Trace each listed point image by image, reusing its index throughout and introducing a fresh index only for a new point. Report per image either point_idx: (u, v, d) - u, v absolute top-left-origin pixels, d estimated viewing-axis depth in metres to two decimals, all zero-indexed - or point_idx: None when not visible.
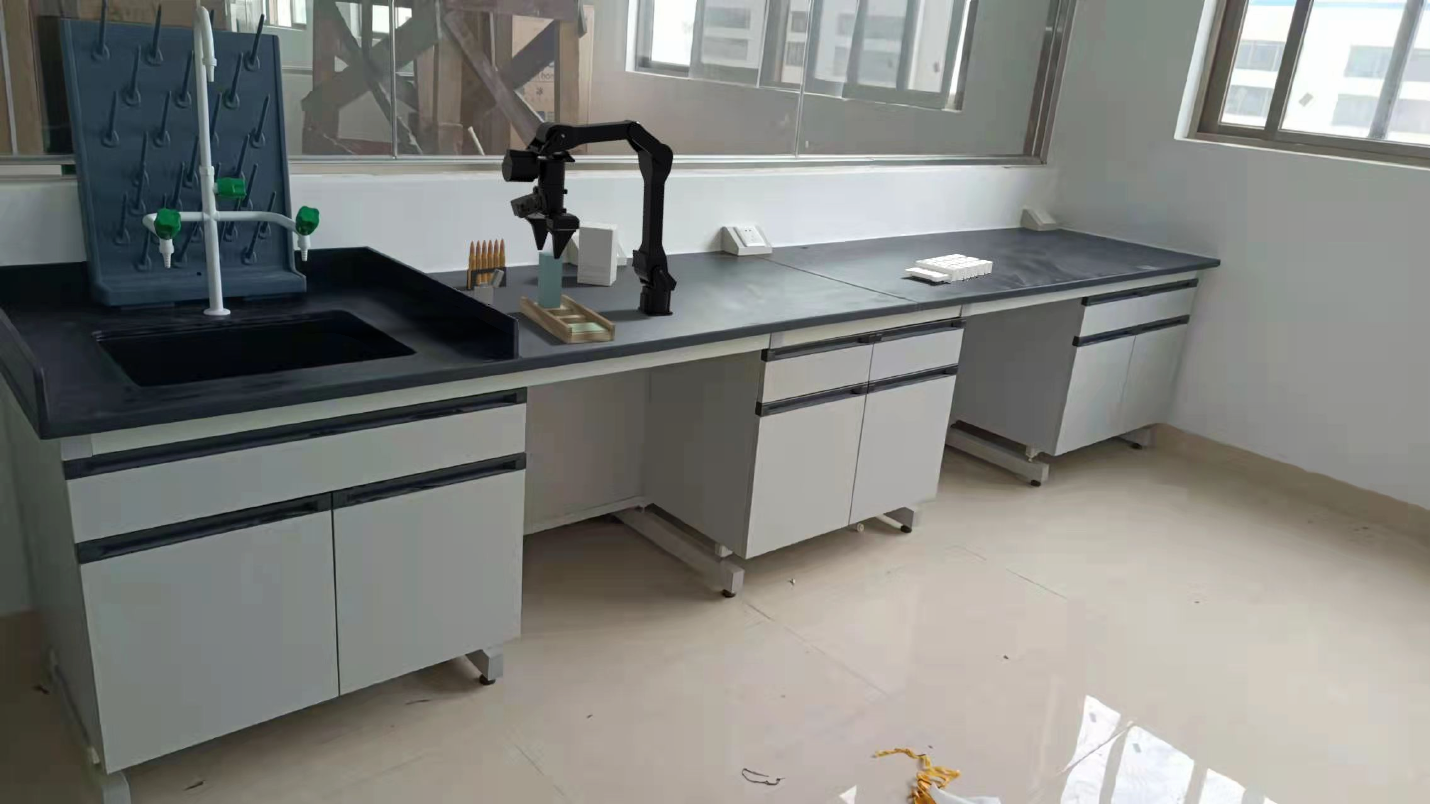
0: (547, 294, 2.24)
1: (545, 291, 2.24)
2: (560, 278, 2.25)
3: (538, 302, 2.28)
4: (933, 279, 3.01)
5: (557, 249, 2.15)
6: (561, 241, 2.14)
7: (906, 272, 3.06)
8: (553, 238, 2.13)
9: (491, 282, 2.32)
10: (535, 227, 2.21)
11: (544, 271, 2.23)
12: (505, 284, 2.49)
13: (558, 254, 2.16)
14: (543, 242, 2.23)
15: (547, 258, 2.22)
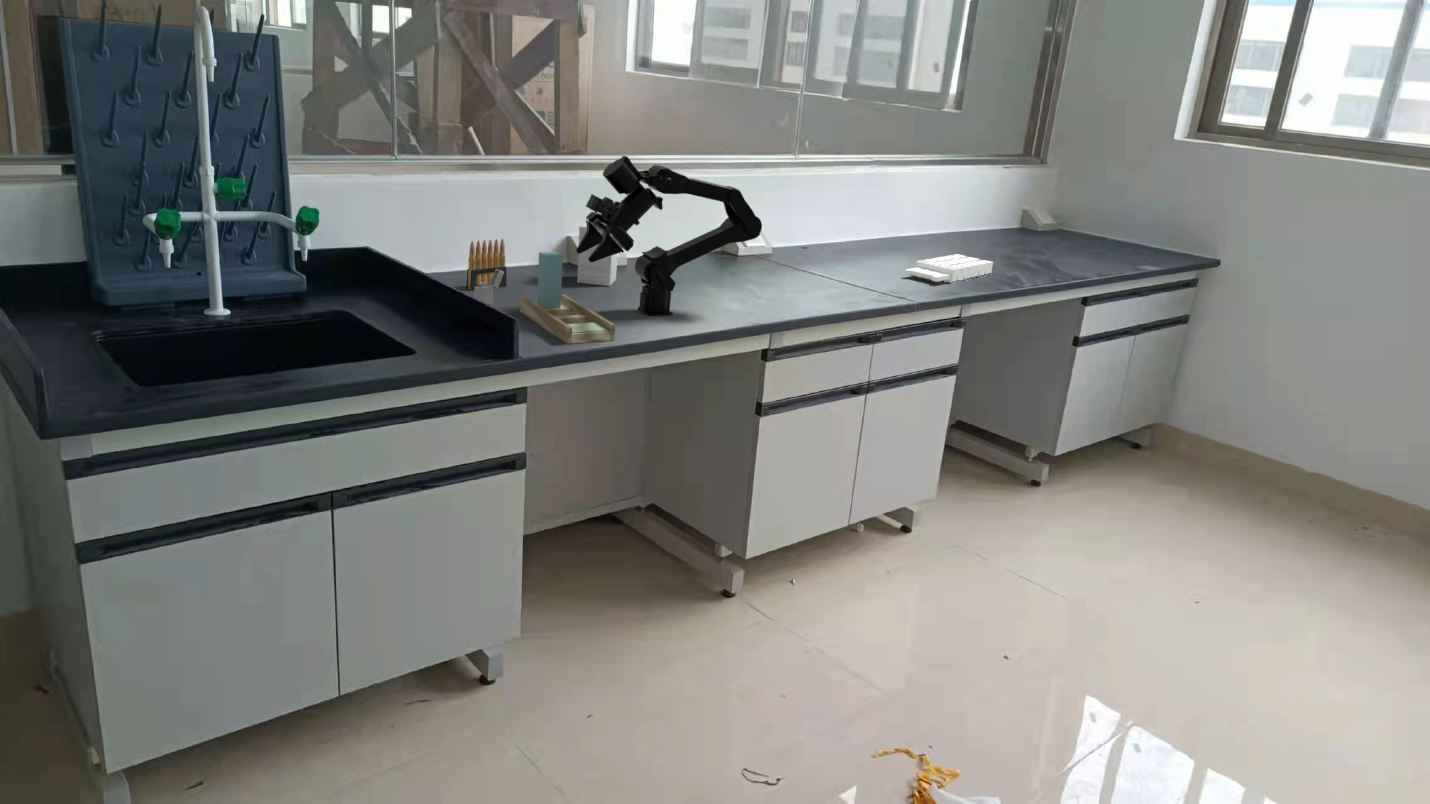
0: (547, 294, 2.24)
1: (545, 291, 2.24)
2: (560, 278, 2.25)
3: (538, 302, 2.28)
4: (933, 279, 3.01)
5: (596, 254, 2.23)
6: (605, 250, 2.23)
7: (906, 272, 3.07)
8: (601, 243, 2.22)
9: (491, 282, 2.32)
10: (589, 233, 2.31)
11: (544, 271, 2.23)
12: (505, 284, 2.49)
13: (594, 258, 2.23)
14: (585, 249, 2.31)
15: (547, 258, 2.22)
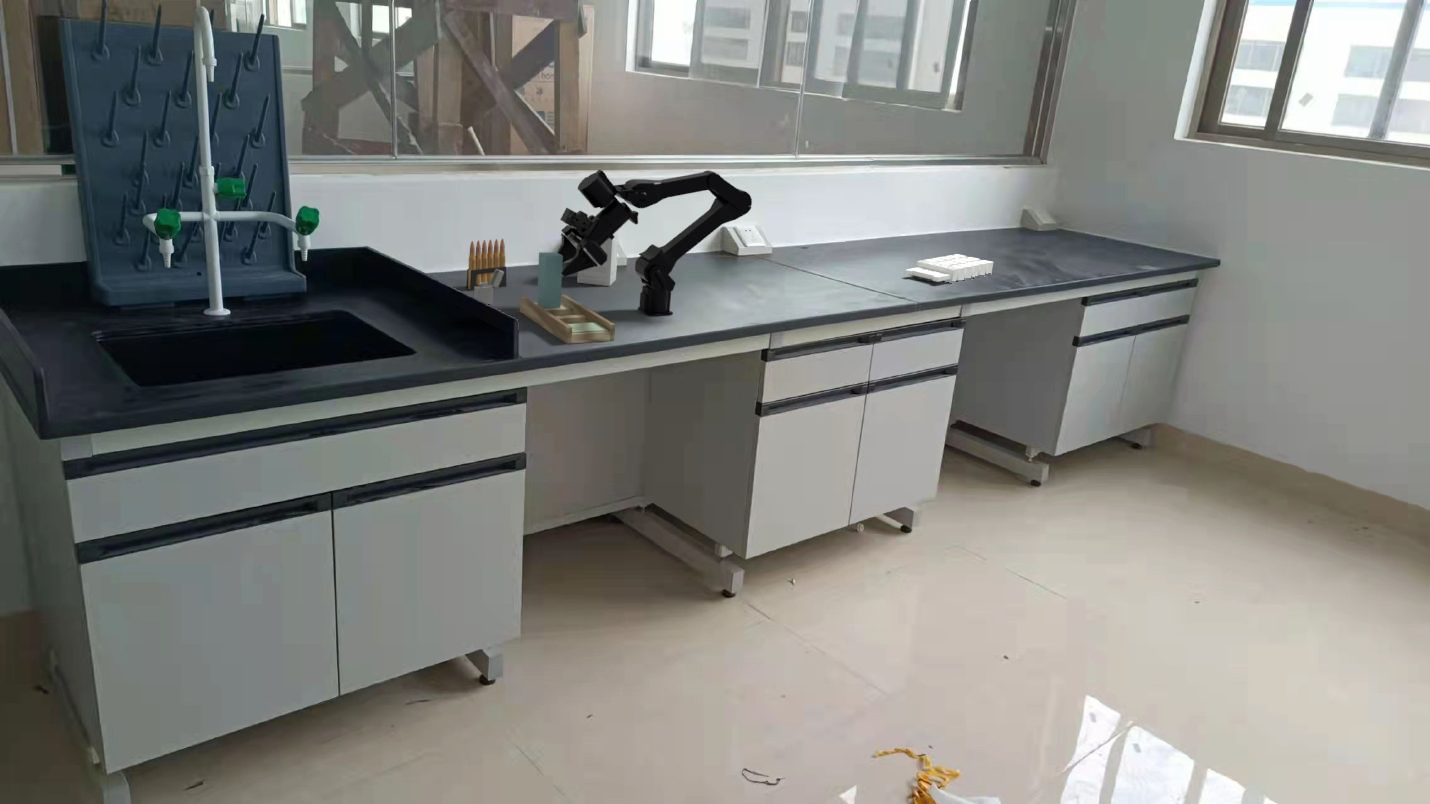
0: (547, 294, 2.24)
1: (545, 291, 2.24)
2: (560, 278, 2.25)
3: (538, 302, 2.28)
4: (934, 279, 3.01)
5: (570, 268, 2.21)
6: (578, 264, 2.21)
7: (907, 272, 3.07)
8: (574, 257, 2.21)
9: (491, 282, 2.32)
10: (564, 246, 2.30)
11: (544, 271, 2.23)
12: (505, 284, 2.49)
13: (567, 272, 2.22)
14: None
15: (547, 258, 2.22)
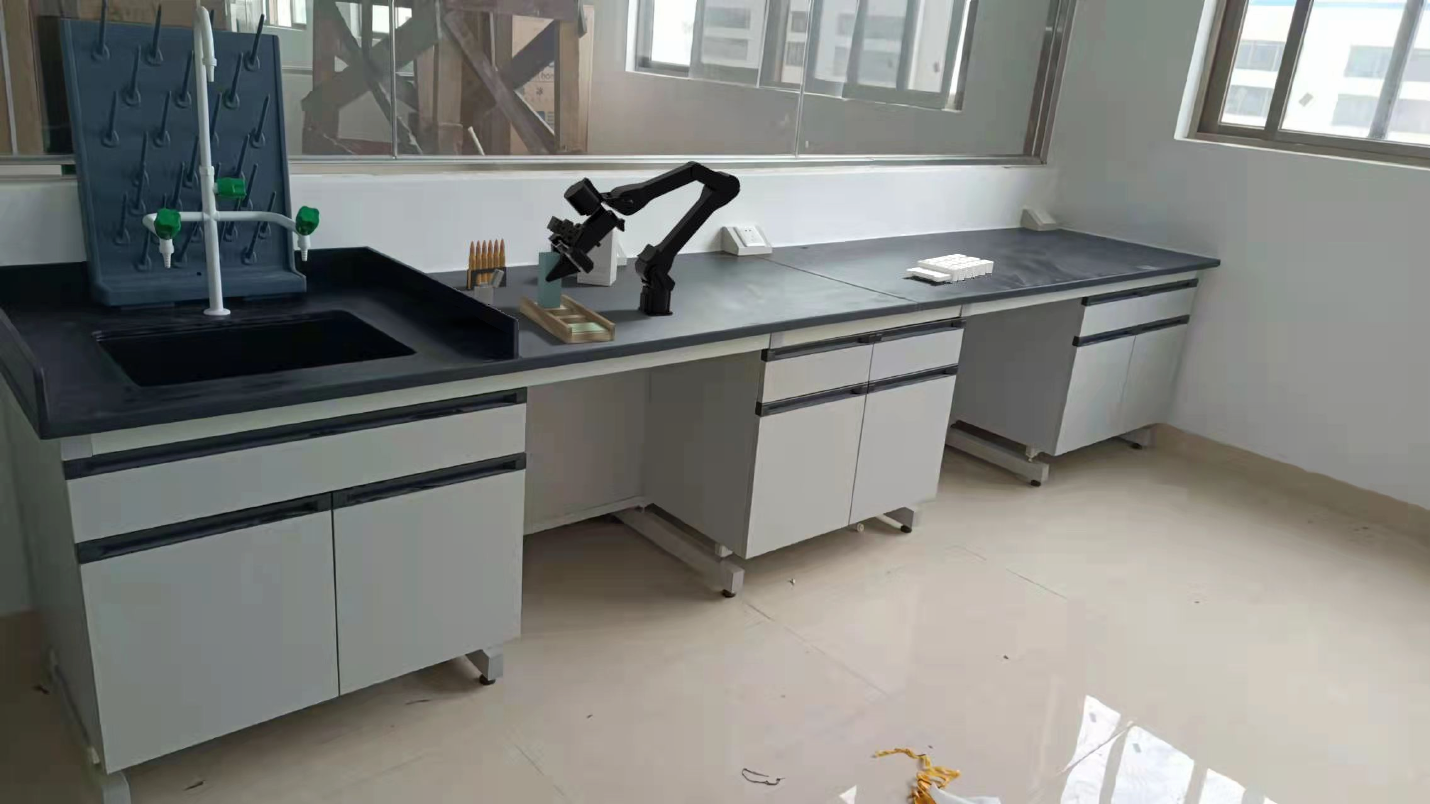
0: (547, 294, 2.25)
1: (545, 290, 2.24)
2: (560, 278, 2.25)
3: (538, 302, 2.28)
4: (935, 279, 3.01)
5: (554, 274, 2.23)
6: (562, 270, 2.23)
7: (908, 272, 3.07)
8: (558, 263, 2.22)
9: (491, 282, 2.32)
10: None
11: (544, 271, 2.23)
12: (505, 284, 2.49)
13: (551, 278, 2.23)
14: None
15: (547, 258, 2.22)
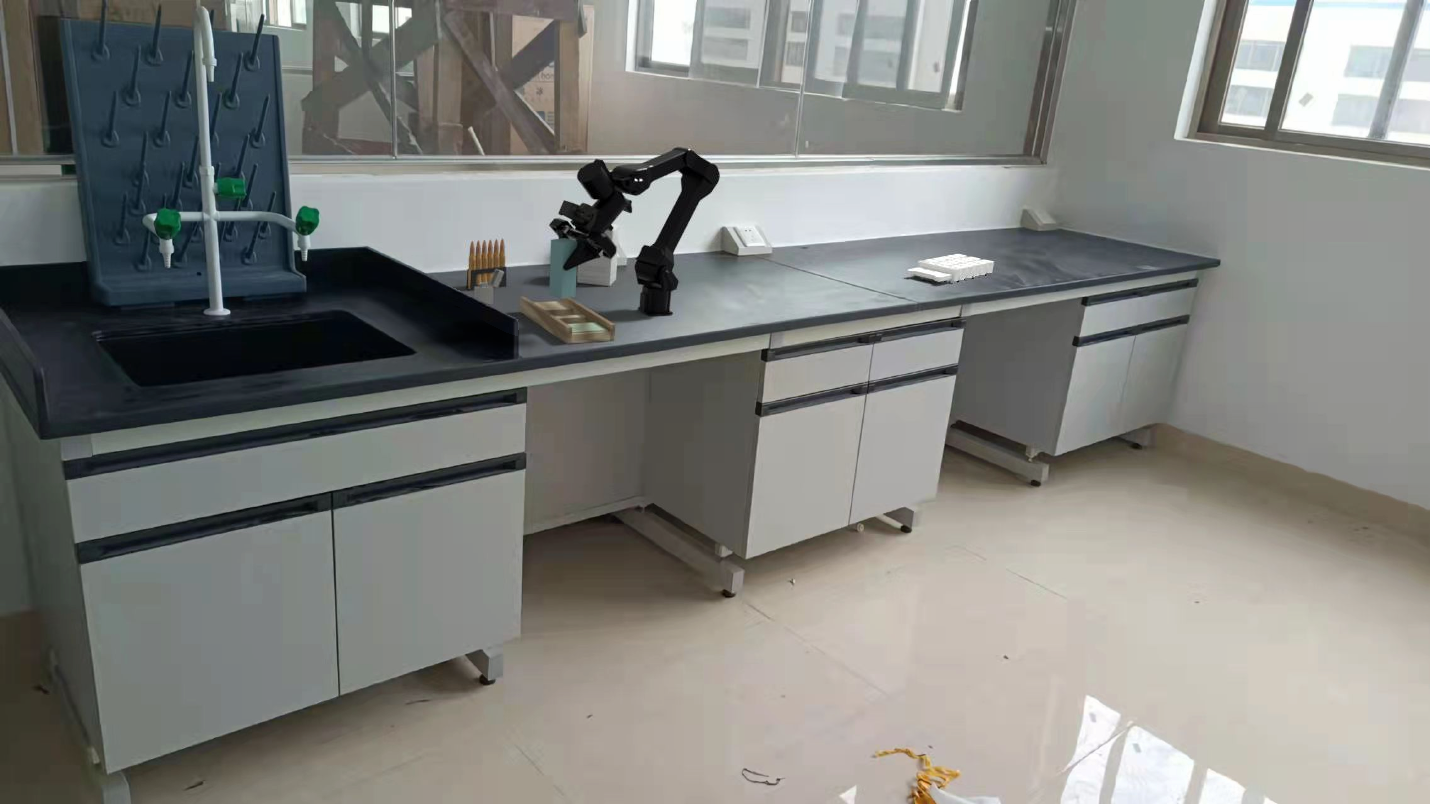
0: (564, 283, 2.14)
1: (562, 280, 2.13)
2: None
3: (551, 292, 2.16)
4: (936, 279, 3.01)
5: (572, 261, 2.12)
6: (580, 257, 2.13)
7: (909, 272, 3.07)
8: (576, 249, 2.12)
9: (491, 282, 2.32)
10: None
11: (561, 259, 2.12)
12: (505, 284, 2.49)
13: (569, 266, 2.12)
14: None
15: (564, 245, 2.11)
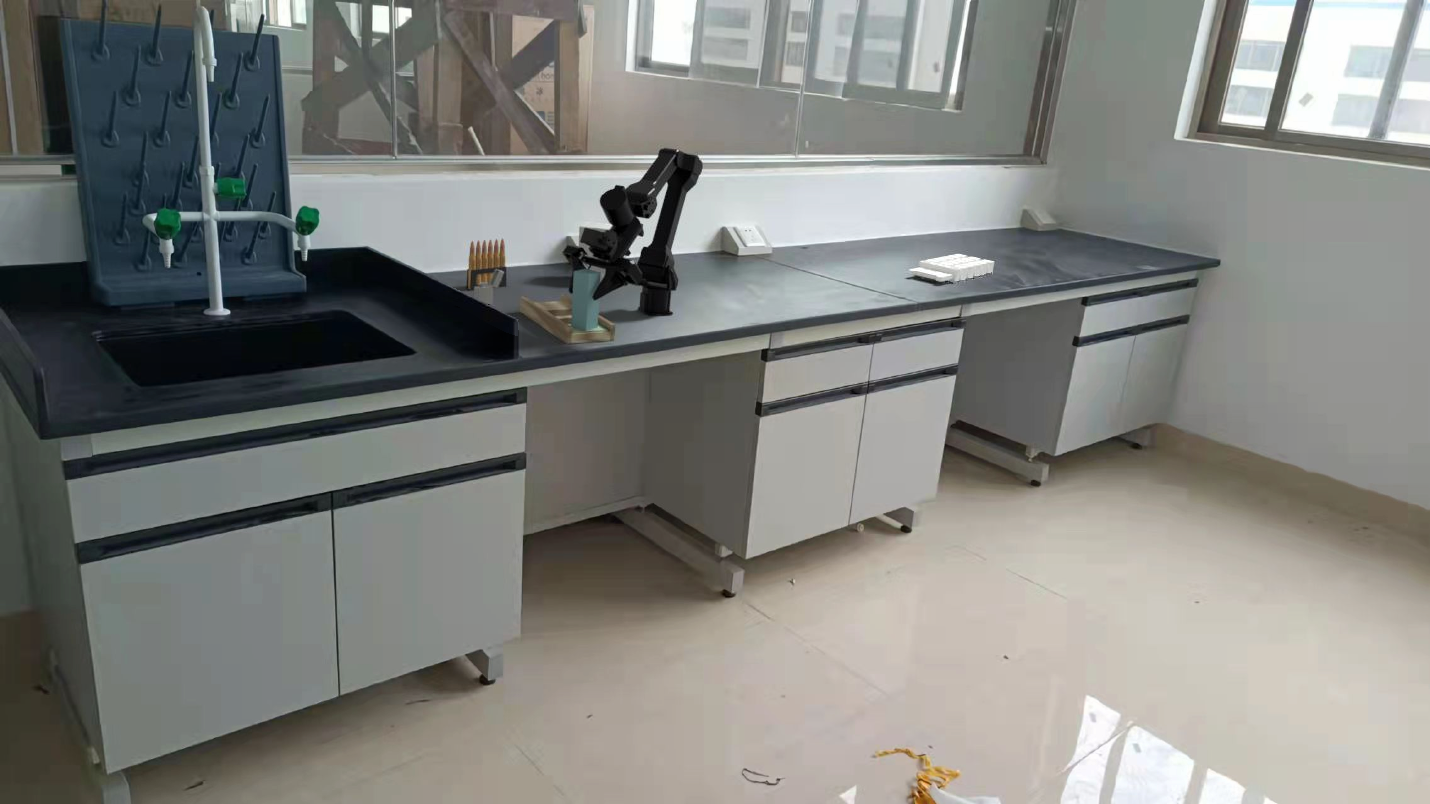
0: (588, 315, 2.10)
1: (587, 312, 2.09)
2: None
3: (573, 324, 2.12)
4: (937, 279, 3.02)
5: (601, 291, 2.08)
6: (608, 286, 2.09)
7: (910, 272, 3.07)
8: (604, 278, 2.08)
9: (491, 282, 2.32)
10: None
11: (585, 291, 2.08)
12: (505, 284, 2.49)
13: (598, 296, 2.08)
14: None
15: (589, 277, 2.07)
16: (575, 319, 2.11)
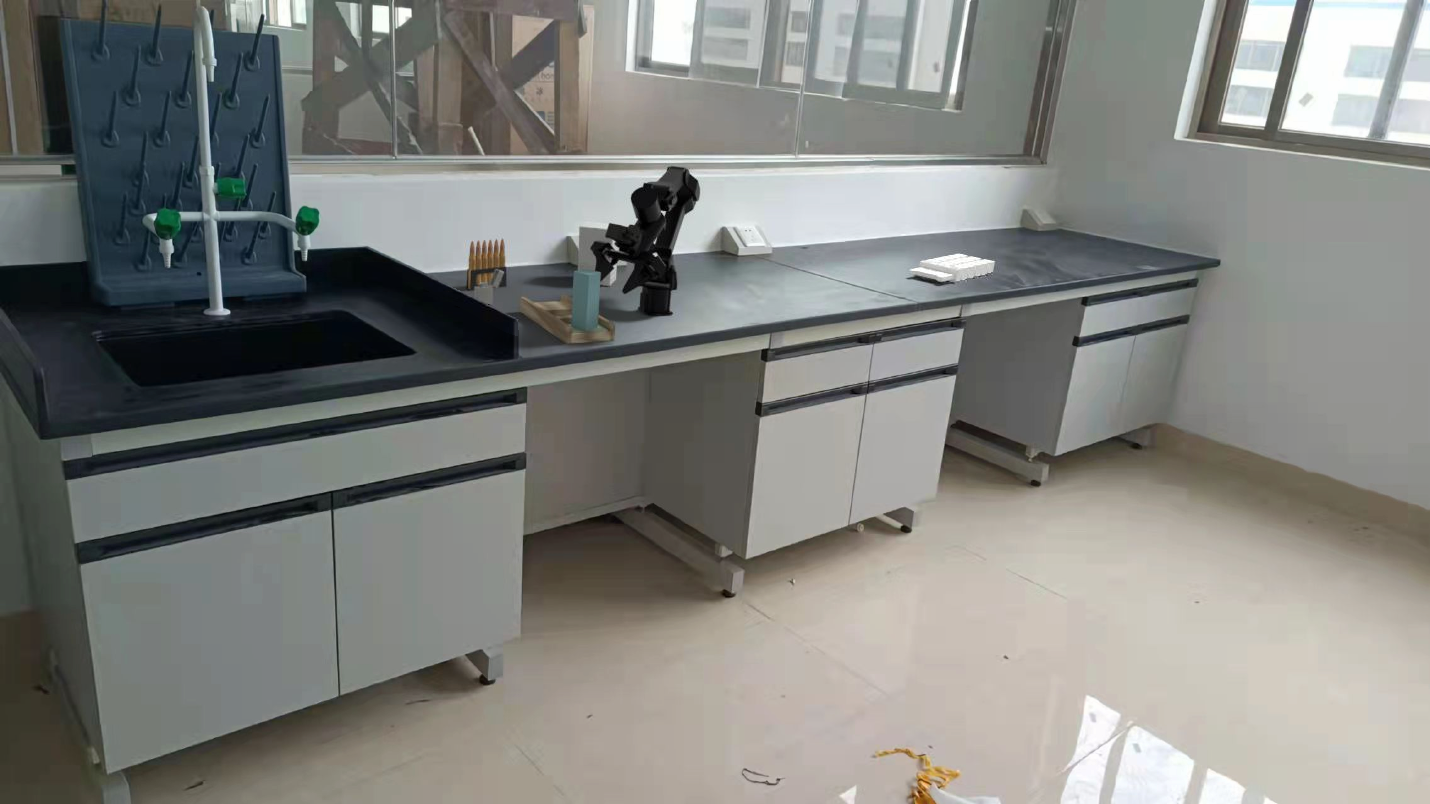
0: (588, 315, 2.10)
1: (587, 312, 2.09)
2: (598, 296, 2.11)
3: (573, 324, 2.12)
4: (938, 279, 3.02)
5: (630, 284, 2.14)
6: (638, 280, 2.15)
7: (911, 272, 3.07)
8: (634, 272, 2.14)
9: (491, 282, 2.32)
10: (601, 263, 2.20)
11: (585, 291, 2.08)
12: (505, 284, 2.49)
13: (628, 289, 2.14)
14: None
15: (589, 277, 2.07)
16: (575, 319, 2.11)
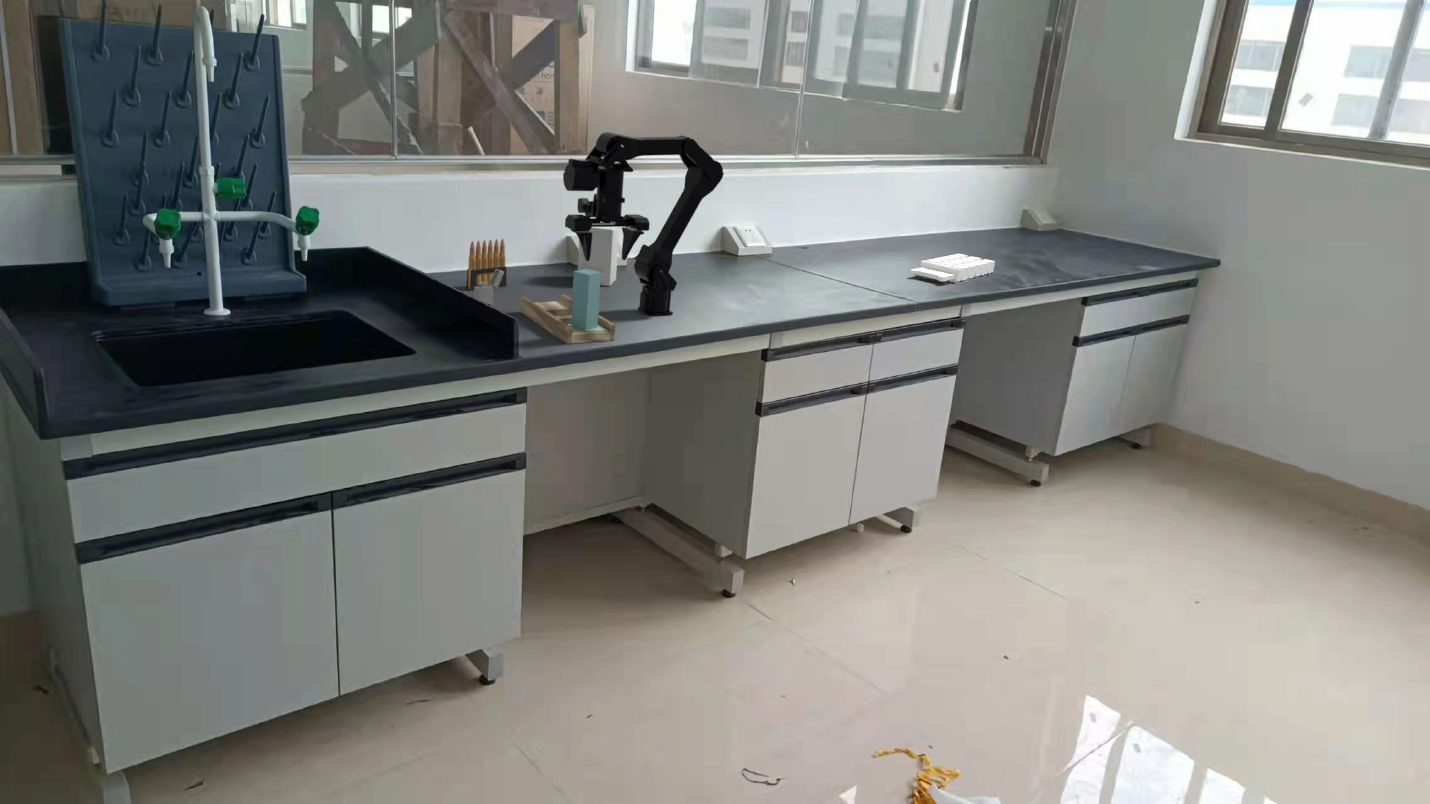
0: (588, 315, 2.10)
1: (587, 312, 2.09)
2: (598, 296, 2.11)
3: (573, 324, 2.12)
4: (939, 279, 3.02)
5: (584, 251, 2.24)
6: (584, 243, 2.23)
7: (912, 272, 3.07)
8: None
9: (491, 282, 2.32)
10: (623, 237, 2.30)
11: (585, 291, 2.08)
12: (505, 284, 2.49)
13: (585, 256, 2.25)
14: (624, 253, 2.29)
15: (589, 277, 2.07)
16: (575, 319, 2.11)
